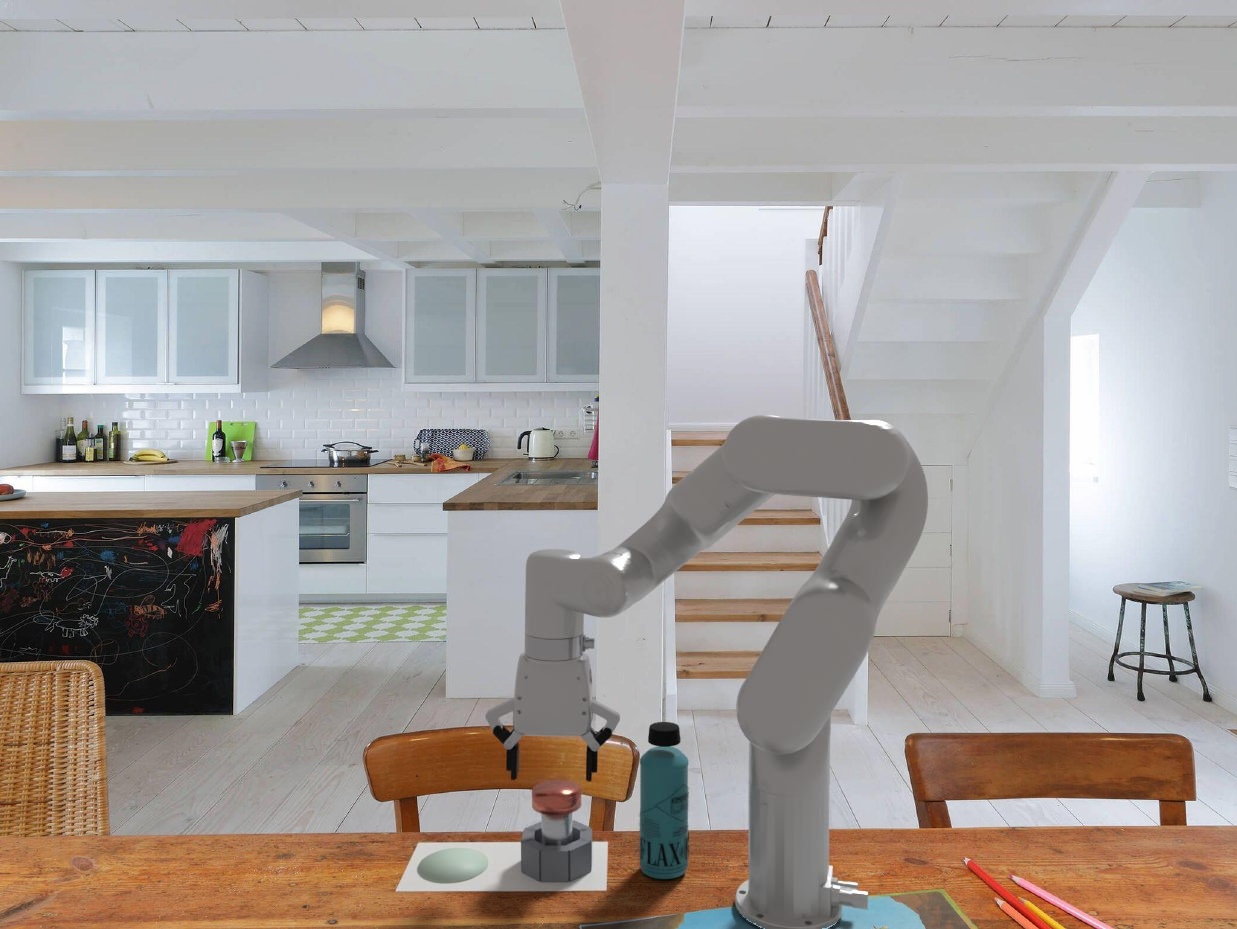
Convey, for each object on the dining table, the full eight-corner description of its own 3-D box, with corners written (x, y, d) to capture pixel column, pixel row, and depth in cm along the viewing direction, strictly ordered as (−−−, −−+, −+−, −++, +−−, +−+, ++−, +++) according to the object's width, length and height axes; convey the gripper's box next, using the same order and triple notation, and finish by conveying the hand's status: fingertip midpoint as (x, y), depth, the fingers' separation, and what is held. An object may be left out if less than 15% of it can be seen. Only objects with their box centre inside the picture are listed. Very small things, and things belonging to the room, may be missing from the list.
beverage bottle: (629, 884, 116) (629, 728, 115) (652, 861, 122) (652, 713, 121) (676, 896, 113) (676, 737, 112) (697, 872, 119) (697, 721, 118)
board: (608, 848, 126) (607, 813, 126) (606, 898, 113) (606, 858, 113) (418, 849, 126) (417, 814, 126) (395, 899, 113) (394, 859, 113)
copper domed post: (588, 856, 122) (587, 782, 121) (572, 880, 116) (572, 802, 115) (543, 850, 123) (542, 777, 123) (525, 873, 117) (524, 796, 117)
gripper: (621, 640, 122) (618, 766, 123) (490, 638, 122) (489, 764, 123) (621, 655, 114) (618, 790, 115) (482, 652, 114) (480, 787, 115)
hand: (552, 776), depth 119 cm, fingers open, 9 cm apart
